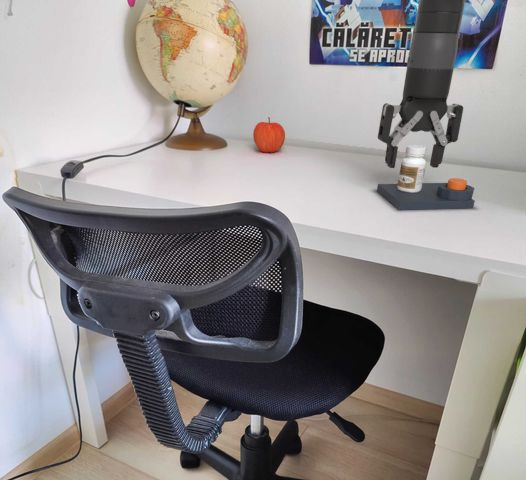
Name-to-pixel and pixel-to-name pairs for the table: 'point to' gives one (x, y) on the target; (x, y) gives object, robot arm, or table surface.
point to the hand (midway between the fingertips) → (412, 166)
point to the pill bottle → (412, 169)
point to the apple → (269, 136)
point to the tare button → (456, 184)
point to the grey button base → (428, 197)
